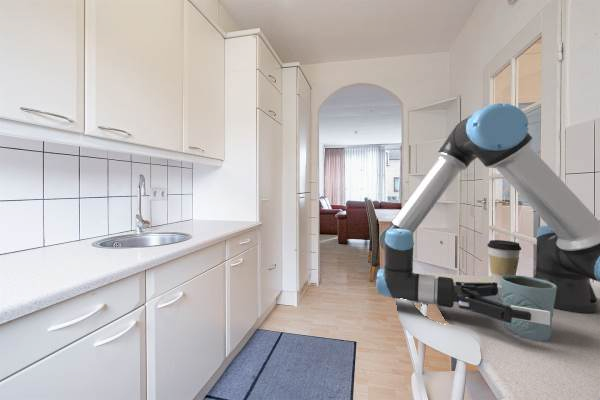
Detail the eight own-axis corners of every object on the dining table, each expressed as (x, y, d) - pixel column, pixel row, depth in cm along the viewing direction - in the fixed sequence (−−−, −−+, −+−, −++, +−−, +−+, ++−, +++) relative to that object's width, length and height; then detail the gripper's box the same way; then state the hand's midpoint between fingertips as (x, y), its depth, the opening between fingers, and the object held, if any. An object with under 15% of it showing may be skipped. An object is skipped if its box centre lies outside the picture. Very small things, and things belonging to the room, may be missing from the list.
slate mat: (486, 287, 93) (486, 285, 93) (505, 306, 78) (505, 303, 78) (447, 283, 97) (447, 281, 97) (458, 300, 82) (458, 298, 82)
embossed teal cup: (512, 339, 60) (514, 286, 60) (491, 318, 70) (493, 272, 70) (566, 345, 58) (569, 290, 58) (537, 323, 68) (539, 276, 67)
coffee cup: (527, 286, 94) (528, 244, 94) (506, 289, 92) (507, 245, 91) (499, 278, 104) (500, 239, 103) (479, 280, 101) (480, 240, 100)
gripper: (436, 289, 84) (522, 302, 74) (436, 324, 61) (559, 349, 52) (436, 265, 83) (523, 275, 74) (437, 292, 61) (561, 311, 52)
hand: (538, 306), depth 63 cm, fingers open, 13 cm apart
